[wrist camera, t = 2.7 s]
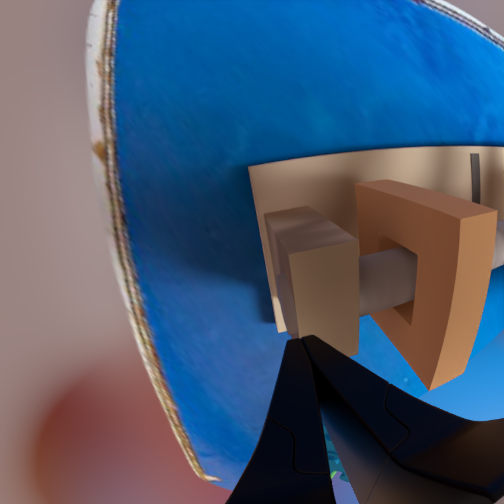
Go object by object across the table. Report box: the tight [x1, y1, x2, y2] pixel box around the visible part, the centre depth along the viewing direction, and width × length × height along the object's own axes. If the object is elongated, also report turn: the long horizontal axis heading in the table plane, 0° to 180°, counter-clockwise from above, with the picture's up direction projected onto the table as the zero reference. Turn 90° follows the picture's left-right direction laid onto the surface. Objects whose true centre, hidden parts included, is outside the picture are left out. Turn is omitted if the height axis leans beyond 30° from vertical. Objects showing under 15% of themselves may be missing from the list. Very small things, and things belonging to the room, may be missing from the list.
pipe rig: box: [248, 146, 504, 357], centre depth 13 cm, size 24×10×7 cm, turn 100°
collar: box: [355, 179, 497, 391], centre depth 11 cm, size 2×7×8 cm, turn 10°
